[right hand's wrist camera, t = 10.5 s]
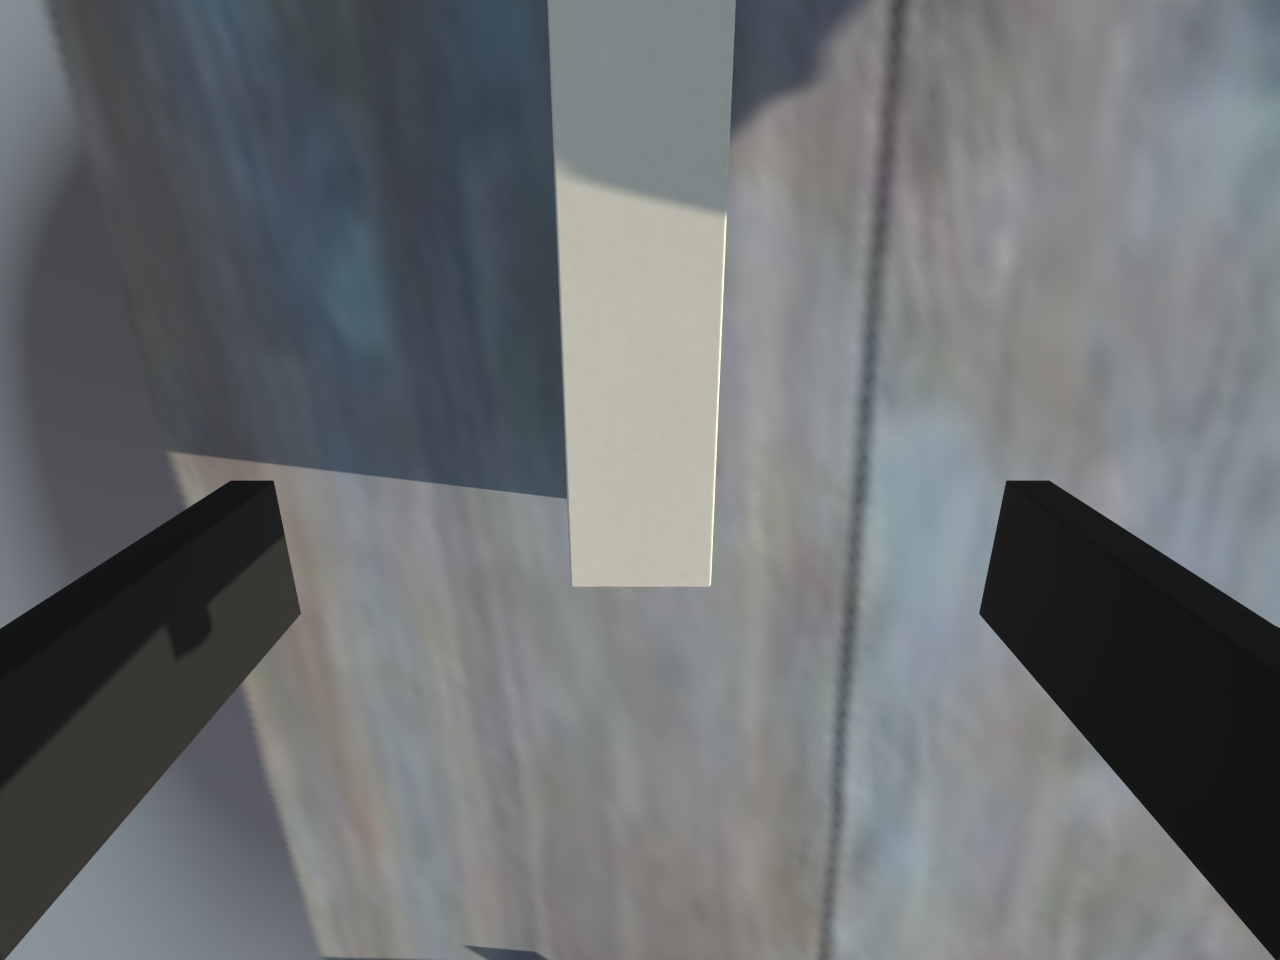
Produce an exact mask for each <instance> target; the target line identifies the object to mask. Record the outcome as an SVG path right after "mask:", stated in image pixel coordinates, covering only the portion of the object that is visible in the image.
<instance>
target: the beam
mask: <svg viewBox="0 0 1280 960" xmlns="http://www.w3.org/2000/svg"><path fill="white" fill-rule="evenodd" d="M547 4H548V30H549V55H550V80H551V105H552V130H553V155H554V181H555V206H556V231H557V256H558V281H559V306H560V332H561V357H562V382H563V407H564V432H565V457H566V483H567V508H568V533H569V558H570V583H571V586H710V585H711V568H712V545H713V521H714V498H715V475H716V452H717V428H718V405H719V382H720V358H721V335H722V312H723V288H724V265H725V242H726V218H727V195H728V172H729V148H730V125H731V102H732V78H733V55H734V32H735V8H736V0H547Z"/></svg>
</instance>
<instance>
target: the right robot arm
mask: <svg viewBox="0 0 1280 960" xmlns="http://www.w3.org/2000/svg"><path fill="white" fill-rule="evenodd" d="M300 614H301V613H300V608H299V603H298V598H297V593H296V588H295V583H294V578H293V573H292V569H291V564H290V559H289V554H288V549H287V544H286V539H285V534H284V529H283V524H282V520H281V515H280V510H279V505H278V500H277V495H276V490H275V485H274V481H230V482H228V483H226V484H225V485H223V486H222V487H220V488H219V489H217V490H216V491H214V492H212V493H211V494H209V495H208V496H206V497H205V498H203V499H202V500H200V501H198V502H197V503H195V504H194V505H192V506H191V507H189V508H188V509H186V510H184V511H183V512H181V513H180V514H178V515H177V516H175V517H174V518H172V519H170V520H169V521H167V522H166V523H164V524H163V525H161V526H160V527H158V528H156V529H155V530H153V531H152V532H150V533H149V534H147V535H146V536H144V537H143V538H141V539H139V540H138V541H136V542H135V543H133V544H132V545H130V546H128V547H127V548H125V549H124V550H122V551H121V552H119V553H118V554H116V555H114V556H113V557H111V558H110V559H108V560H107V561H105V562H104V563H102V564H100V565H99V566H97V567H96V568H94V569H93V570H91V571H90V572H88V573H86V574H85V575H83V576H82V577H80V578H79V579H77V580H76V581H74V582H73V583H71V584H69V585H68V586H66V587H65V588H63V589H62V590H60V591H58V592H57V593H55V594H54V595H52V596H51V597H49V598H48V599H46V600H44V601H43V602H41V603H40V604H38V605H37V606H35V607H34V608H32V609H31V610H29V611H27V612H26V613H24V614H23V615H21V616H20V617H18V618H16V619H15V620H13V621H12V622H10V623H9V624H7V625H6V626H4V627H2V628H1V629H0V960H5V959H6V957H7V956H8V955H9V954H10V953H11V951H12V950H13V949H14V948H15V947H16V946H17V944H18V943H19V942H20V941H21V940H22V939H23V938H24V936H25V935H26V934H27V933H28V932H29V931H30V929H31V928H32V927H33V926H34V925H35V923H36V922H37V921H38V920H39V919H40V918H41V917H42V915H43V914H44V913H45V912H46V911H47V909H48V908H49V907H50V906H51V905H52V904H53V902H54V901H55V900H56V899H57V898H58V897H59V895H60V894H61V893H62V892H63V891H64V890H65V888H66V887H67V886H68V885H69V884H70V883H71V881H72V880H73V879H74V878H75V877H76V876H77V874H78V873H79V872H80V871H81V870H82V869H83V867H84V866H85V865H86V864H87V863H88V862H89V860H90V859H91V858H92V857H93V856H94V855H95V853H96V852H97V851H98V850H99V849H100V848H101V846H102V845H103V844H104V843H105V842H106V841H107V839H108V838H109V837H110V836H111V835H112V834H113V832H114V831H115V830H116V829H117V828H118V827H119V825H120V824H121V823H122V822H123V821H124V820H125V818H126V817H127V816H128V815H129V814H130V813H131V811H132V810H133V809H134V808H135V807H136V806H137V804H138V803H139V802H140V801H141V800H142V799H143V797H144V796H145V795H146V794H147V793H148V791H149V790H150V789H151V788H152V787H153V786H154V785H155V783H156V782H157V781H158V780H159V779H160V778H161V776H162V775H163V774H164V773H165V772H166V771H167V769H168V768H169V767H170V766H171V765H172V763H173V762H174V761H175V760H176V759H177V758H178V757H179V755H180V754H181V753H182V752H183V751H184V750H185V748H186V747H187V746H188V745H189V744H190V743H191V741H192V740H193V739H194V738H195V737H196V735H197V734H198V733H199V732H200V731H201V730H202V728H203V727H204V726H205V725H206V724H207V723H208V721H209V720H210V719H211V718H212V717H213V716H214V714H215V713H216V712H217V711H218V710H219V709H220V707H221V706H222V705H223V704H224V703H225V702H226V700H227V699H228V698H229V697H230V696H231V695H232V693H233V692H234V691H235V690H236V689H237V688H238V686H239V685H240V684H241V683H242V682H243V681H244V679H245V678H246V677H247V676H248V675H249V674H250V672H251V671H252V670H253V669H254V668H255V667H256V665H257V664H258V663H259V662H260V661H261V660H262V658H263V657H264V656H265V655H266V654H267V653H268V651H269V650H270V649H271V648H272V647H273V646H274V644H275V643H276V642H277V641H278V640H279V639H280V637H281V636H282V635H283V634H284V633H285V632H286V630H287V629H288V628H289V627H290V626H291V625H292V623H293V622H294V621H295V620H296V619H297V618H298V616H299V615H300ZM979 614H980V615H981V616H982V618H983V619H984V620H985V621H986V622H987V623H988V625H989V626H990V627H991V628H992V629H993V630H994V632H995V633H996V634H997V635H998V636H999V637H1000V639H1001V640H1002V641H1003V642H1004V643H1005V644H1006V646H1007V647H1008V648H1009V649H1010V650H1011V651H1012V653H1013V654H1014V655H1015V656H1016V657H1017V658H1018V660H1019V661H1020V662H1021V663H1022V664H1023V665H1024V667H1025V668H1026V669H1027V670H1028V671H1029V672H1030V674H1031V675H1032V676H1033V677H1034V678H1035V679H1036V681H1037V682H1038V683H1039V684H1040V685H1041V686H1042V688H1043V689H1044V690H1045V691H1046V692H1047V693H1048V695H1049V696H1050V697H1051V698H1052V699H1053V700H1054V702H1055V703H1056V704H1057V705H1058V706H1059V707H1060V709H1061V710H1062V711H1063V712H1064V713H1065V714H1066V716H1067V717H1068V718H1069V719H1070V720H1071V721H1072V723H1073V724H1074V725H1075V726H1076V727H1077V728H1078V730H1079V731H1080V732H1081V733H1082V734H1083V735H1084V737H1085V738H1086V739H1087V740H1088V741H1089V743H1090V744H1091V745H1092V746H1093V747H1094V748H1095V750H1096V751H1097V752H1098V753H1099V754H1100V755H1101V757H1102V758H1103V759H1104V760H1105V761H1106V762H1107V764H1108V765H1109V766H1110V767H1111V768H1112V769H1113V771H1114V772H1115V773H1116V774H1117V775H1118V776H1119V778H1120V779H1121V780H1122V781H1123V782H1124V783H1125V785H1126V786H1127V787H1128V788H1129V789H1130V790H1131V792H1132V793H1133V794H1134V795H1135V796H1136V797H1137V799H1138V800H1139V801H1140V802H1141V803H1142V804H1143V806H1144V807H1145V808H1146V809H1147V810H1148V811H1149V813H1150V814H1151V815H1152V816H1153V817H1154V818H1155V820H1156V821H1157V822H1158V823H1159V824H1160V825H1161V827H1162V828H1163V829H1164V830H1165V831H1166V832H1167V834H1168V835H1169V836H1170V837H1171V838H1172V839H1173V841H1174V842H1175V843H1176V844H1177V845H1178V846H1179V848H1180V849H1181V850H1182V851H1183V852H1184V853H1185V855H1186V856H1187V857H1188V858H1189V859H1190V860H1191V862H1192V863H1193V864H1194V865H1195V866H1196V867H1197V869H1198V870H1199V871H1200V872H1201V873H1202V874H1203V876H1204V877H1205V878H1206V879H1207V880H1208V881H1209V883H1210V884H1211V885H1212V886H1213V887H1214V888H1215V890H1216V891H1217V892H1218V893H1219V894H1220V895H1221V897H1222V898H1223V899H1224V900H1225V901H1226V902H1227V904H1228V905H1229V906H1230V907H1231V908H1232V909H1233V911H1234V912H1235V913H1236V914H1237V915H1238V917H1239V918H1240V919H1241V920H1242V921H1243V922H1244V924H1245V925H1246V926H1247V927H1248V928H1249V929H1250V931H1251V932H1252V933H1253V934H1254V935H1255V936H1256V938H1257V939H1258V940H1259V941H1260V942H1261V943H1262V945H1263V946H1264V947H1265V948H1266V949H1267V950H1268V952H1269V953H1270V954H1271V955H1272V956H1273V957H1274V959H1275V960H1280V628H1279V627H1277V626H1274V625H1273V624H1271V623H1270V622H1268V621H1267V620H1265V619H1264V618H1262V617H1260V616H1259V615H1257V614H1256V613H1254V612H1253V611H1251V610H1250V609H1248V608H1246V607H1245V606H1243V605H1242V604H1240V603H1239V602H1237V601H1236V600H1234V599H1232V598H1231V597H1229V596H1228V595H1226V594H1225V593H1223V592H1222V591H1220V590H1218V589H1217V588H1215V587H1214V586H1212V585H1211V584H1209V583H1208V582H1206V581H1204V580H1203V579H1201V578H1200V577H1198V576H1197V575H1195V574H1194V573H1192V572H1190V571H1189V570H1187V569H1186V568H1184V567H1183V566H1181V565H1180V564H1178V563H1176V562H1175V561H1173V560H1172V559H1170V558H1169V557H1167V556H1166V555H1164V554H1162V553H1161V552H1159V551H1158V550H1156V549H1155V548H1153V547H1152V546H1150V545H1148V544H1147V543H1145V542H1144V541H1142V540H1141V539H1139V538H1138V537H1136V536H1134V535H1133V534H1131V533H1130V532H1128V531H1127V530H1125V529H1124V528H1122V527H1120V526H1119V525H1117V524H1116V523H1114V522H1113V521H1111V520H1110V519H1108V518H1106V517H1105V516H1103V515H1102V514H1100V513H1099V512H1097V511H1096V510H1094V509H1092V508H1091V507H1089V506H1088V505H1086V504H1085V503H1083V502H1082V501H1080V500H1078V499H1077V498H1075V497H1074V496H1072V495H1071V494H1069V493H1068V492H1066V491H1064V490H1063V489H1061V488H1060V487H1058V486H1057V485H1055V484H1054V483H1052V482H1050V481H1006V485H1005V490H1004V495H1003V500H1002V505H1001V510H1000V515H999V520H998V524H997V529H996V534H995V539H994V544H993V549H992V554H991V559H990V564H989V569H988V573H987V578H986V583H985V588H984V593H983V598H982V603H981V608H980V613H979Z"/></svg>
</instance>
